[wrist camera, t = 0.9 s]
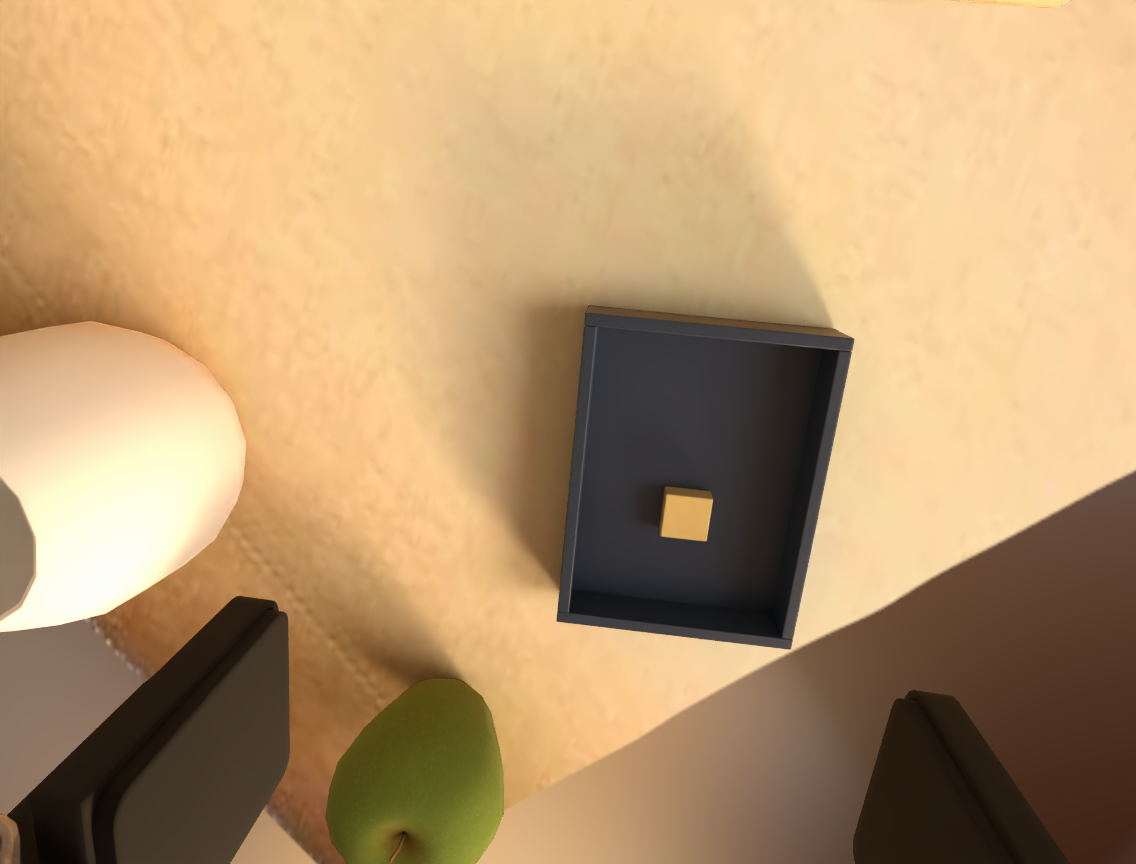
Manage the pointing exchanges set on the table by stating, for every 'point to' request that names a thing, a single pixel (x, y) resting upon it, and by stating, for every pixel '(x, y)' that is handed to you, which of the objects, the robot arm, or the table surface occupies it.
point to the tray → (698, 472)
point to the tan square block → (685, 513)
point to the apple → (420, 781)
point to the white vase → (106, 468)
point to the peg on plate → (1024, 2)
